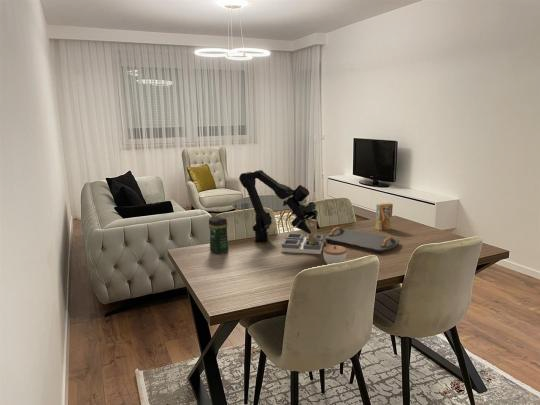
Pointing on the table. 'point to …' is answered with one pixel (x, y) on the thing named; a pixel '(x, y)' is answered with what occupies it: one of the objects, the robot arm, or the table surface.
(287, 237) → the grey compartment tray
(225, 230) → the coffee jar
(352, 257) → the table surface
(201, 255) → the table surface
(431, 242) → the table surface
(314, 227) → the stool leg
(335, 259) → the lidded jar
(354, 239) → the serving board
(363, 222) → the table surface
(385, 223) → the candy box
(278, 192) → the robot arm
